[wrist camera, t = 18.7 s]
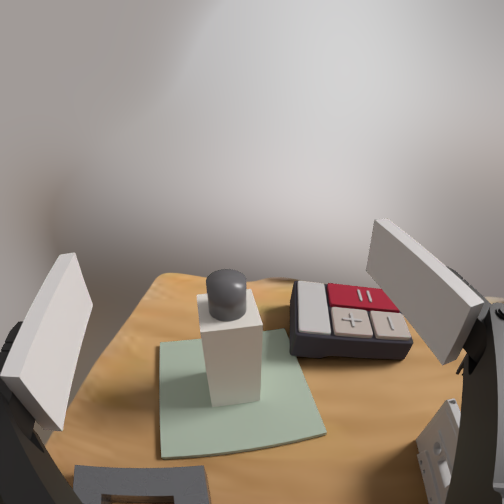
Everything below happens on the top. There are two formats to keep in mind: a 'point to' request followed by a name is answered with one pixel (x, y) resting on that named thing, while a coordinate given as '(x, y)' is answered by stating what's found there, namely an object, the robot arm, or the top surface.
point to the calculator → (346, 322)
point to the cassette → (439, 451)
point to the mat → (238, 415)
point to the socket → (141, 485)
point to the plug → (230, 339)
